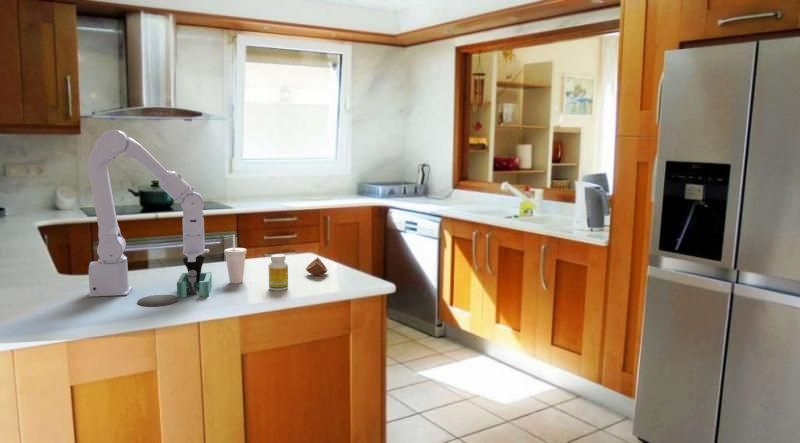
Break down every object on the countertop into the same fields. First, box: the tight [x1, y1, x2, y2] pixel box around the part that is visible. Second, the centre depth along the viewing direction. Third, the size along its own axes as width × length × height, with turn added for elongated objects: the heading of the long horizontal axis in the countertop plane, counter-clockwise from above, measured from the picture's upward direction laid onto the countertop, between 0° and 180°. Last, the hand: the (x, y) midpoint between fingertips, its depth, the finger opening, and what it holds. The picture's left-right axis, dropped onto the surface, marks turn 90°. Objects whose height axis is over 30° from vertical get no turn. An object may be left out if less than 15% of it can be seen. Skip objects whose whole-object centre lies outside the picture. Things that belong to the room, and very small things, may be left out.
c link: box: [176, 271, 213, 298], centre depth 174 cm, size 8×11×4 cm
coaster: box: [137, 294, 180, 307], centre depth 165 cm, size 10×10×1 cm
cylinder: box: [187, 270, 198, 296], centre depth 172 cm, size 2×2×7 cm
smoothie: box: [223, 234, 247, 284], centre depth 185 cm, size 6×6×14 cm
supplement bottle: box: [268, 253, 289, 292], centre depth 178 cm, size 5×5×10 cm
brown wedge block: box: [305, 257, 328, 276], centre depth 196 cm, size 8×7×5 cm
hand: (195, 282), depth 179 cm, fingers closed on c link
